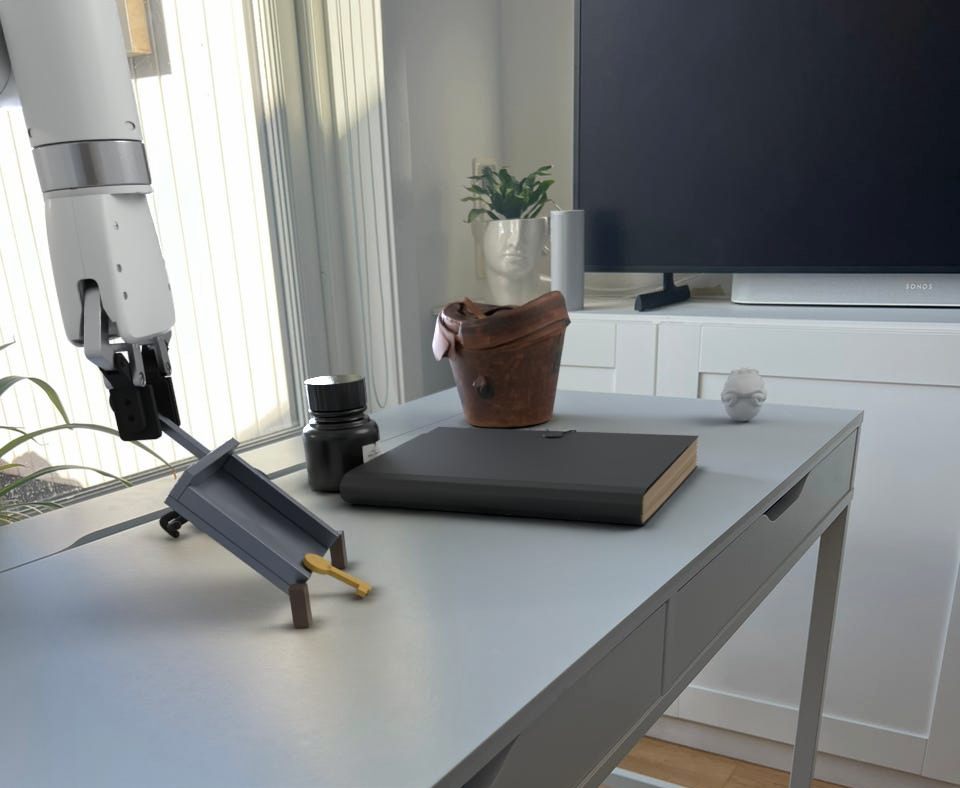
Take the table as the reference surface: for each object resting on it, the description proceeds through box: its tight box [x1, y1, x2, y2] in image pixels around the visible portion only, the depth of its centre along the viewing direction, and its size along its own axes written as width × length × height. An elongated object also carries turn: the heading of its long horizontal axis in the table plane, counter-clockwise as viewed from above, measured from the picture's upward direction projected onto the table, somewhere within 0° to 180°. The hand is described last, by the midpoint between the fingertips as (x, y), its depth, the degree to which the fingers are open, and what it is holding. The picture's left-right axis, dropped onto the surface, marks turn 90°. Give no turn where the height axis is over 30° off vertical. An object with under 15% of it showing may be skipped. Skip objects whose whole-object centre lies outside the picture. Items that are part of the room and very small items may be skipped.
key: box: [303, 554, 373, 598], centre depth 79 cm, size 6×3×1 cm, turn 87°
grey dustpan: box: [108, 384, 340, 596], centre depth 76 cm, size 20×11×4 cm
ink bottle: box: [301, 374, 383, 492], centre depth 111 cm, size 10×9×12 cm
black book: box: [339, 426, 700, 526], centre depth 106 cm, size 33×4×24 cm
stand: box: [288, 530, 349, 629], centre depth 79 cm, size 1×14×3 cm, turn 175°
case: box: [431, 289, 572, 428], centre depth 138 cm, size 18×20×18 cm
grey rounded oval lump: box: [720, 367, 768, 422], centre depth 130 cm, size 6×7×7 cm
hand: (151, 431), depth 75 cm, fingers closed on grey dustpan, 3 cm apart
